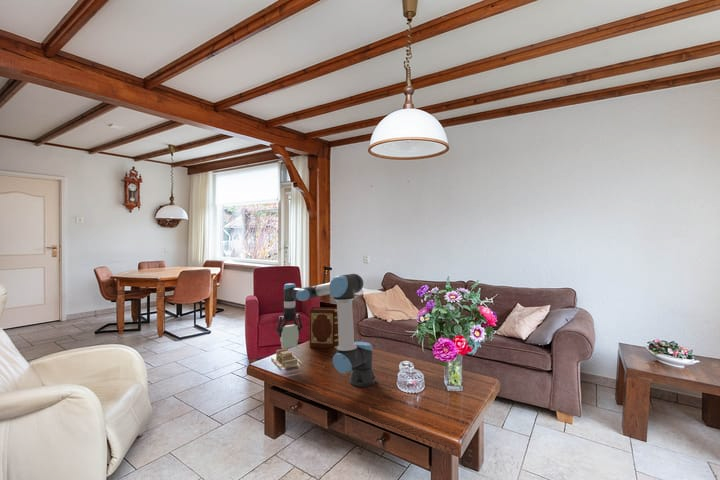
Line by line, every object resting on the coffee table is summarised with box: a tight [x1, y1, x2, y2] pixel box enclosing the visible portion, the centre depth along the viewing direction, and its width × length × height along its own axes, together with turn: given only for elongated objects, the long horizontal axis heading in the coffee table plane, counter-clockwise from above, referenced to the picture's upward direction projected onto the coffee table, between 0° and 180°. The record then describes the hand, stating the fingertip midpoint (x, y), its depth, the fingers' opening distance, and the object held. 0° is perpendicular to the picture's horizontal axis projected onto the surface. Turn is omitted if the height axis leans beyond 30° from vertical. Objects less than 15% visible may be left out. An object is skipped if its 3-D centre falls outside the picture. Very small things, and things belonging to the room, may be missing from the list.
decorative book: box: [309, 306, 339, 349], centre depth 265 cm, size 22×8×30 cm, turn 84°
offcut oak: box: [280, 349, 293, 358], centre depth 229 cm, size 4×7×3 cm
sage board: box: [280, 323, 299, 349], centre depth 223 cm, size 3×10×14 cm, turn 121°
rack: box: [270, 348, 303, 370], centre depth 229 cm, size 20×15×7 cm
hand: (289, 340), depth 223 cm, fingers closed on sage board, 10 cm apart
